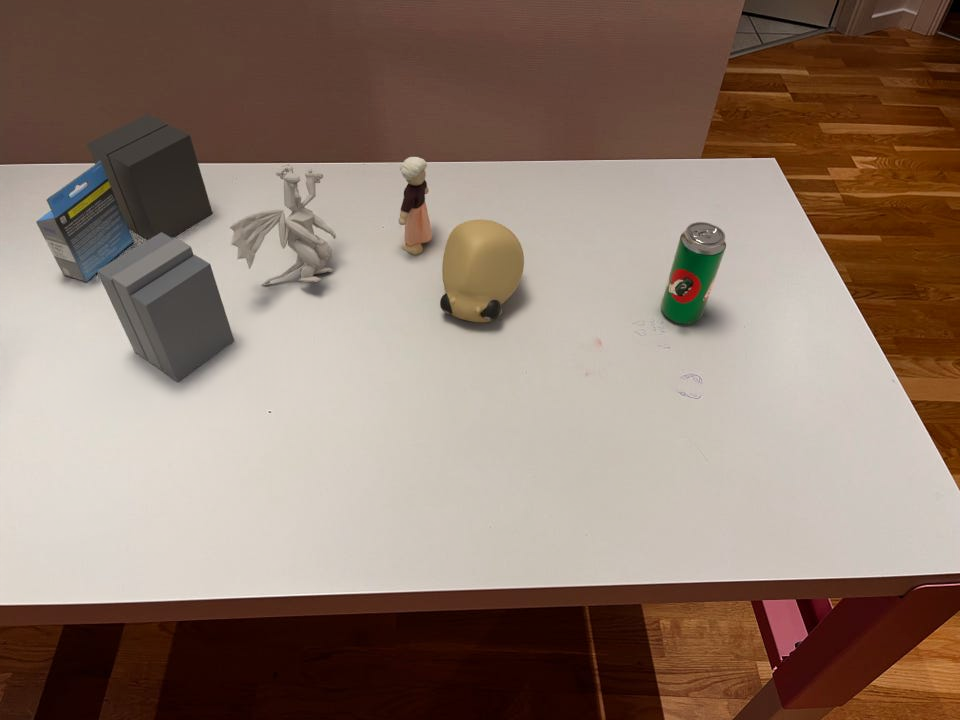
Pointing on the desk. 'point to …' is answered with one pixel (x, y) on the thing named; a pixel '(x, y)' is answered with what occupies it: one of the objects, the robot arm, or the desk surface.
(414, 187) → the grandmother figurine
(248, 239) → the dragon figurine
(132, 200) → the dark grey block
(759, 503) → the desk surface
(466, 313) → the tan toy animal
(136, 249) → the grey upright block
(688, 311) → the soda can
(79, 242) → the blue retail box
